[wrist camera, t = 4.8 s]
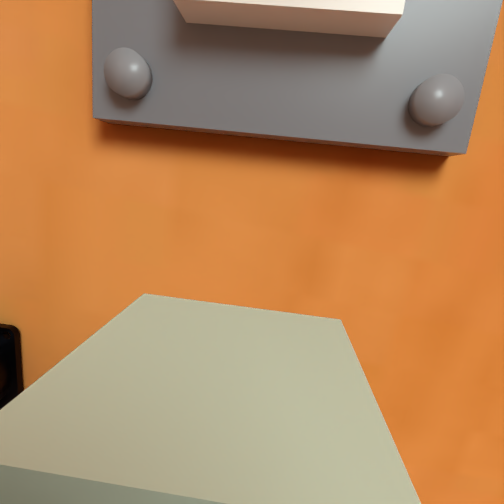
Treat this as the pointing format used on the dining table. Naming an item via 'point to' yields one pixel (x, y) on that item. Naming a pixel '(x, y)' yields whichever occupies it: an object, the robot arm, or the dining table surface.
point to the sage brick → (202, 415)
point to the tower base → (297, 69)
